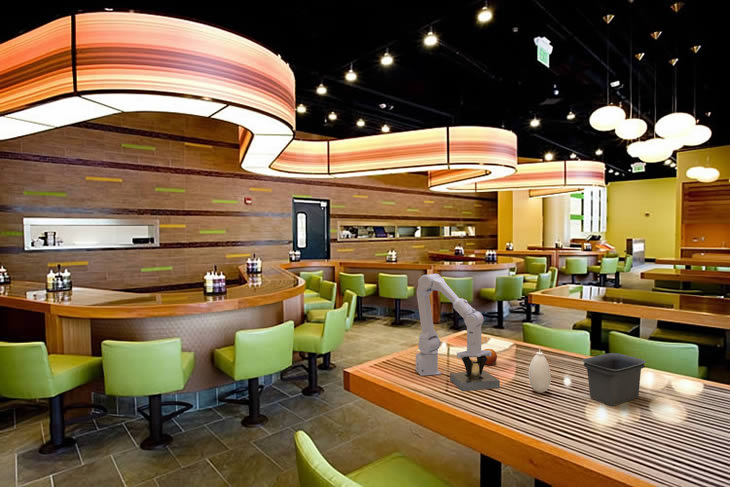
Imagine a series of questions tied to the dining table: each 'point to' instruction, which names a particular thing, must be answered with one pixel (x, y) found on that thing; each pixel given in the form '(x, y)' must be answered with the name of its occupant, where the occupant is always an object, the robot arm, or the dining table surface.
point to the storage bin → (614, 377)
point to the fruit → (491, 357)
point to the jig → (474, 381)
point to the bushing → (475, 370)
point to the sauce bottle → (539, 373)
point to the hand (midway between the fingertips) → (474, 374)
